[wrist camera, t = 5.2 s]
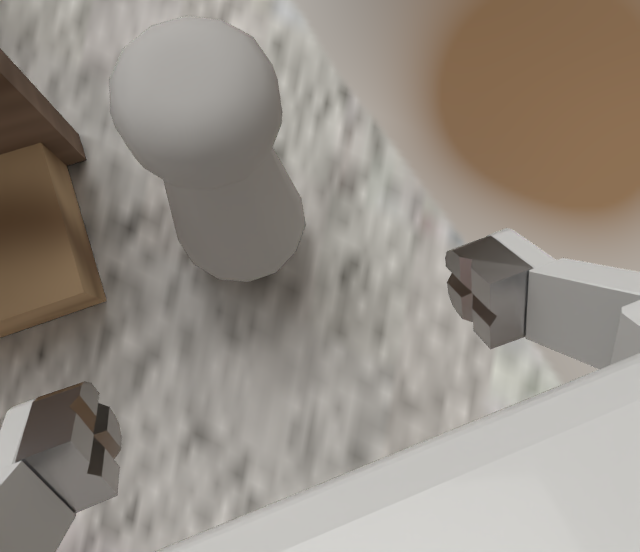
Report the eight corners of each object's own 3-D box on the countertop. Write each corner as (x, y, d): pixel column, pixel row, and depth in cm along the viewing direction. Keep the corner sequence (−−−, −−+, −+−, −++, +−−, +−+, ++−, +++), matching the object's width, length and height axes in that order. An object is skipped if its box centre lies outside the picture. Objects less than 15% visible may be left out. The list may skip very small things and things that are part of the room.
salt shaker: (325, 217, 24) (357, 44, 11) (265, 312, 23) (227, 238, 10) (228, 160, 25) (155, -68, 12) (164, 251, 23) (9, 108, 11)
